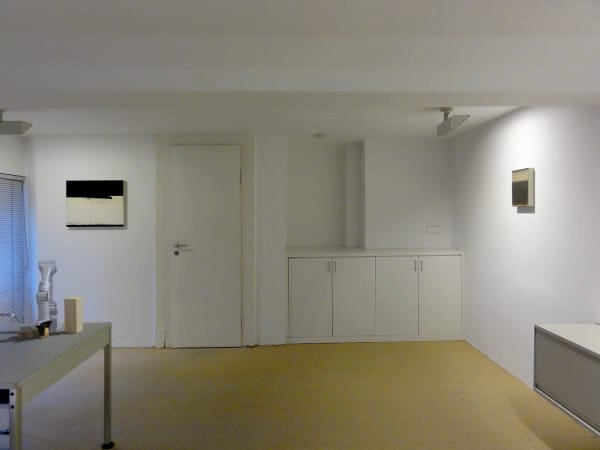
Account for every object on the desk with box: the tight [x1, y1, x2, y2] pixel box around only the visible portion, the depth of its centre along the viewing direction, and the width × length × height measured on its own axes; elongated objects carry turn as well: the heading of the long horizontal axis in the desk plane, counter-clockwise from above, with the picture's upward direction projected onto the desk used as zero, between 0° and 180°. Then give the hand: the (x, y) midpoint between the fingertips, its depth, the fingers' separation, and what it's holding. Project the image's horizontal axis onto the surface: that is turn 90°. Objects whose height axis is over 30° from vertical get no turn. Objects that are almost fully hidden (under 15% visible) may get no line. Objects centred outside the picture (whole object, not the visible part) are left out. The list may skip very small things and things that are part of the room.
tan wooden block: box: [63, 296, 84, 334], centre depth 266 cm, size 8×7×21 cm
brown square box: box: [17, 328, 40, 339], centre depth 259 cm, size 8×8×4 cm
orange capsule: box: [39, 328, 50, 339], centre depth 255 cm, size 4×4×5 cm
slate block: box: [19, 323, 37, 333], centre depth 258 cm, size 6×6×4 cm
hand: (44, 334), depth 255 cm, fingers closed on orange capsule, 4 cm apart
